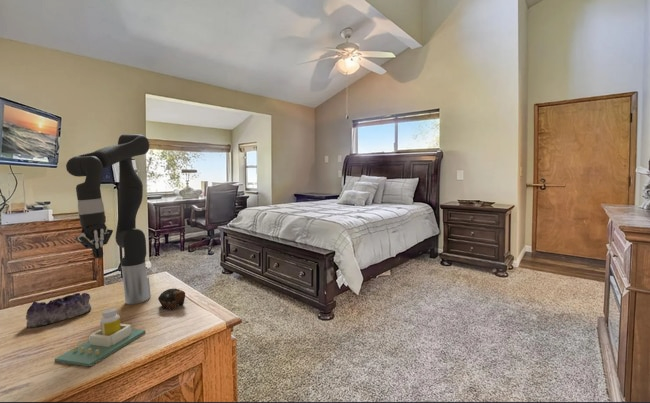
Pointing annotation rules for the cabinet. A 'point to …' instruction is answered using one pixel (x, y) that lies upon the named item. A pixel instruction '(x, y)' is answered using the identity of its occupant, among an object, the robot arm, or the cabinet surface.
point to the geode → (57, 310)
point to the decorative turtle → (172, 298)
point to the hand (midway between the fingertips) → (98, 257)
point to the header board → (99, 346)
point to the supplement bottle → (110, 322)
